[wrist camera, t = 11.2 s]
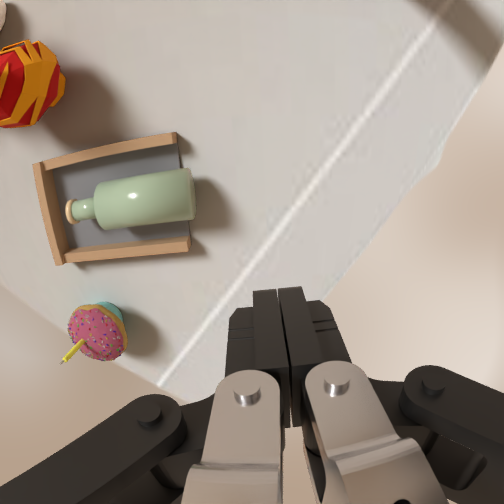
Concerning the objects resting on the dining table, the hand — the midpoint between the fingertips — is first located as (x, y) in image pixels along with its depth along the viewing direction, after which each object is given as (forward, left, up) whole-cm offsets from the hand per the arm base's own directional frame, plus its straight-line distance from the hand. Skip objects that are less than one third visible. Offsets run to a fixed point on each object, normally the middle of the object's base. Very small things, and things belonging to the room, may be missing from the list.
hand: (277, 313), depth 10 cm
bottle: (+7, 0, -24) cm, 25 cm away
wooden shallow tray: (+17, 0, -27) cm, 32 cm away
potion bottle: (+24, -16, -27) cm, 39 cm away
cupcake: (+22, +16, -27) cm, 39 cm away
